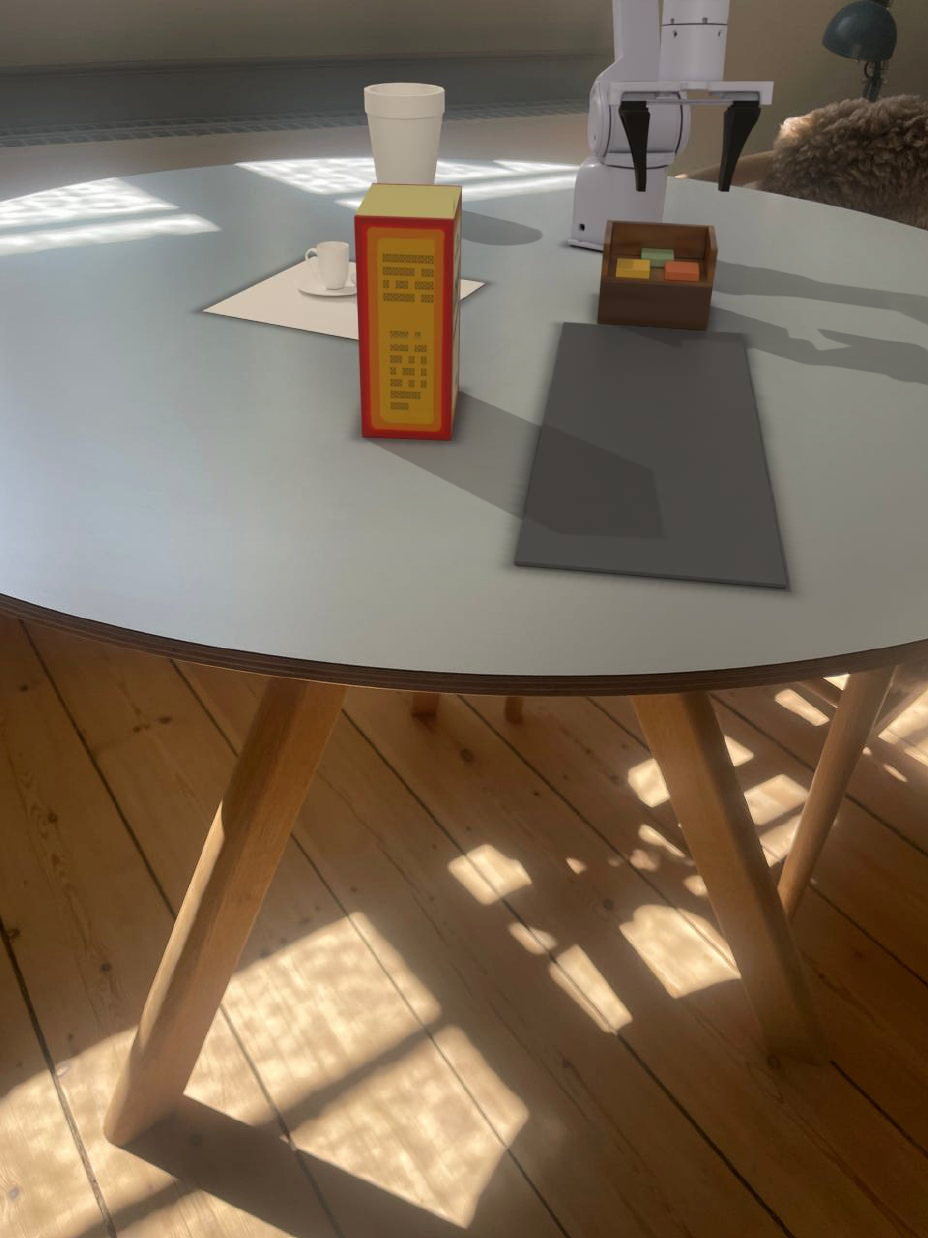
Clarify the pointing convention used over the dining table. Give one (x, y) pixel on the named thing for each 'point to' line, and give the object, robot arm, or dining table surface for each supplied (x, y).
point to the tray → (681, 238)
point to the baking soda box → (409, 309)
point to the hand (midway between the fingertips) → (682, 190)
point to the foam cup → (405, 130)
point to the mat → (651, 461)
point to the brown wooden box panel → (654, 304)
